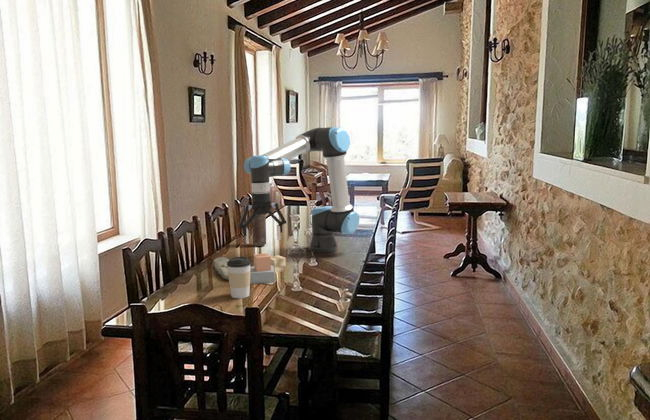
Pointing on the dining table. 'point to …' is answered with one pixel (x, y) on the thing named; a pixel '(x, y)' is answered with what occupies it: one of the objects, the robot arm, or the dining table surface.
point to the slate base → (262, 276)
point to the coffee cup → (239, 276)
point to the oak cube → (278, 263)
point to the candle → (259, 230)
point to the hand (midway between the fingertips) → (263, 241)
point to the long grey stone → (222, 266)
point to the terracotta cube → (262, 262)
